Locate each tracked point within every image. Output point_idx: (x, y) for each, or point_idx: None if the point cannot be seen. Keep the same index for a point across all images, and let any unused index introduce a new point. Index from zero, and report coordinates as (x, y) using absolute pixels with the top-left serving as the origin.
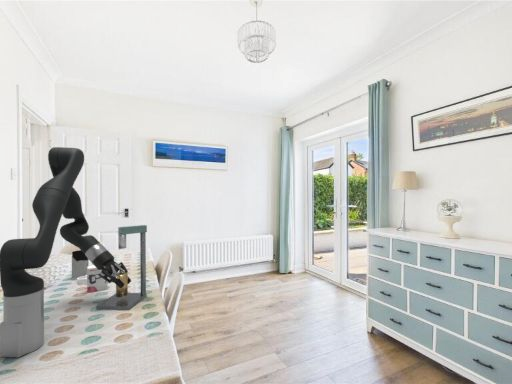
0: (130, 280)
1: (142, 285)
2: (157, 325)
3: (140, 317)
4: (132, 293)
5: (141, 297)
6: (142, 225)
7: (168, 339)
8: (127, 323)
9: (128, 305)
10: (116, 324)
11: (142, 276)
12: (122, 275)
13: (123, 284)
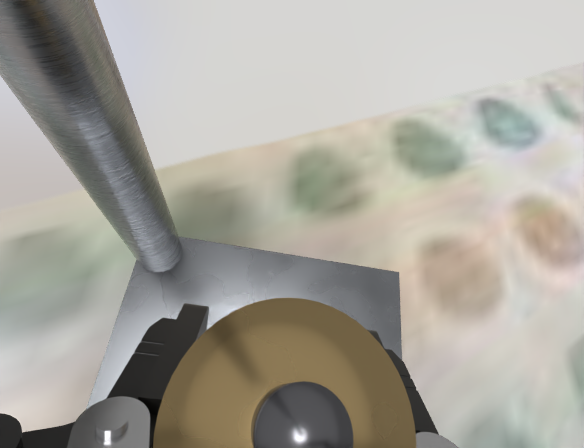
0: (200, 307)
1: (169, 214)
2: (507, 107)
3: (460, 186)
4: (119, 360)
5: (229, 246)
6: None
7: (572, 66)
8: (526, 224)
9: (385, 281)
10: (550, 274)
11: (145, 154)
12: (378, 361)
13: (375, 331)
